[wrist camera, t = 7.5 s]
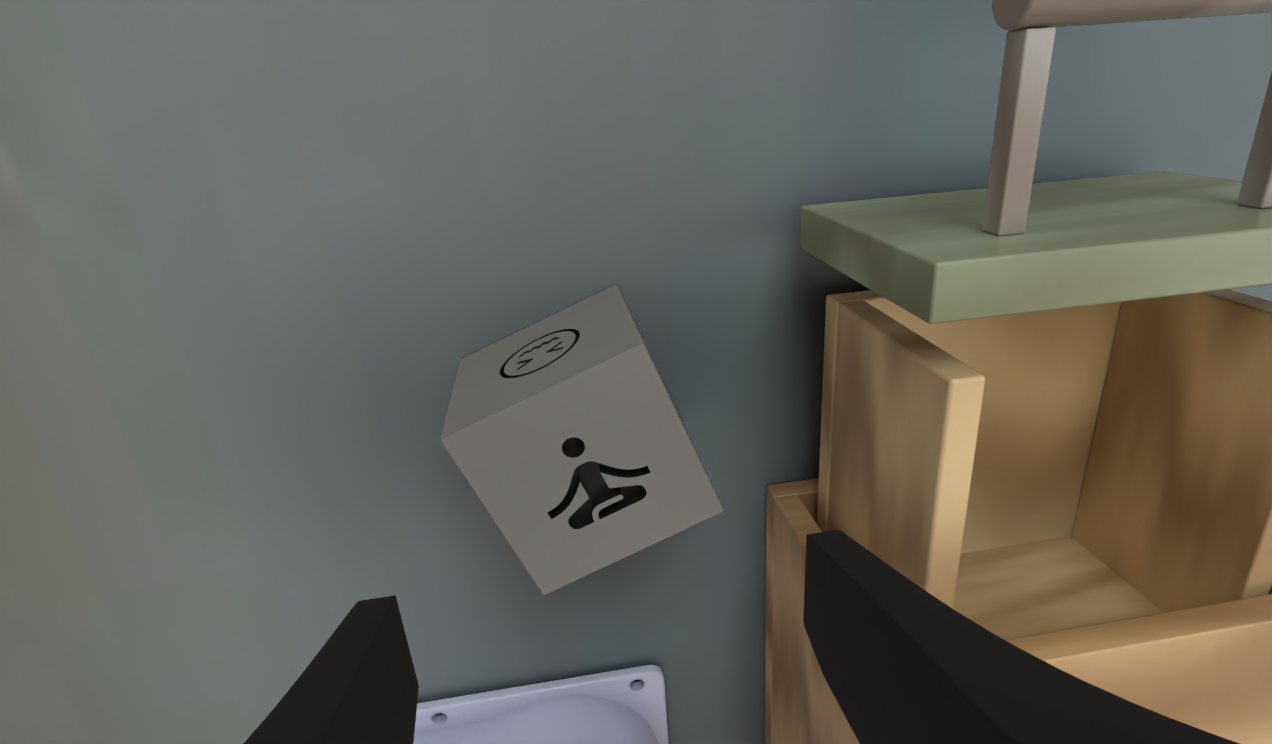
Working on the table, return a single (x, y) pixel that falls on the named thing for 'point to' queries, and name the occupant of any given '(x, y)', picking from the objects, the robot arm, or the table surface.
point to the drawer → (1055, 371)
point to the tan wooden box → (1033, 650)
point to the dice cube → (575, 442)
